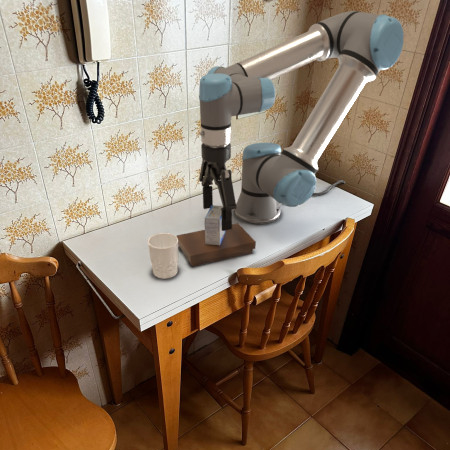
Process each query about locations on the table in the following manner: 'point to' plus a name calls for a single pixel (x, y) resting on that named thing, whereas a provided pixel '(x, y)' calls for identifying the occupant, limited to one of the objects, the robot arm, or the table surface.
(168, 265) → the white cup
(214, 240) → the medicine box
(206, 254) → the board
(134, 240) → the table surface
